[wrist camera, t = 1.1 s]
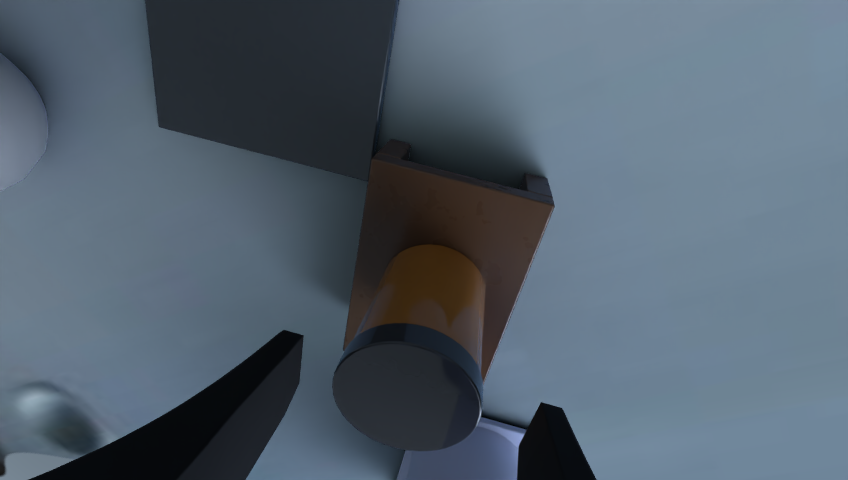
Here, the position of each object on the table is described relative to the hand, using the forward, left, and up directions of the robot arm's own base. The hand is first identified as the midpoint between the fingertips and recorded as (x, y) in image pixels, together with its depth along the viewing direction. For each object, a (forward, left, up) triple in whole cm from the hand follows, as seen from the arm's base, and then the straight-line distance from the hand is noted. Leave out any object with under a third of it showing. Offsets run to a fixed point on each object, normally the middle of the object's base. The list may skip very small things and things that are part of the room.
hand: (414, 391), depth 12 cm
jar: (0, 0, -6) cm, 6 cm away
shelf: (0, 0, -9) cm, 9 cm away
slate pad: (+8, +9, -9) cm, 15 cm away
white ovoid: (+2, +23, -9) cm, 25 cm away
